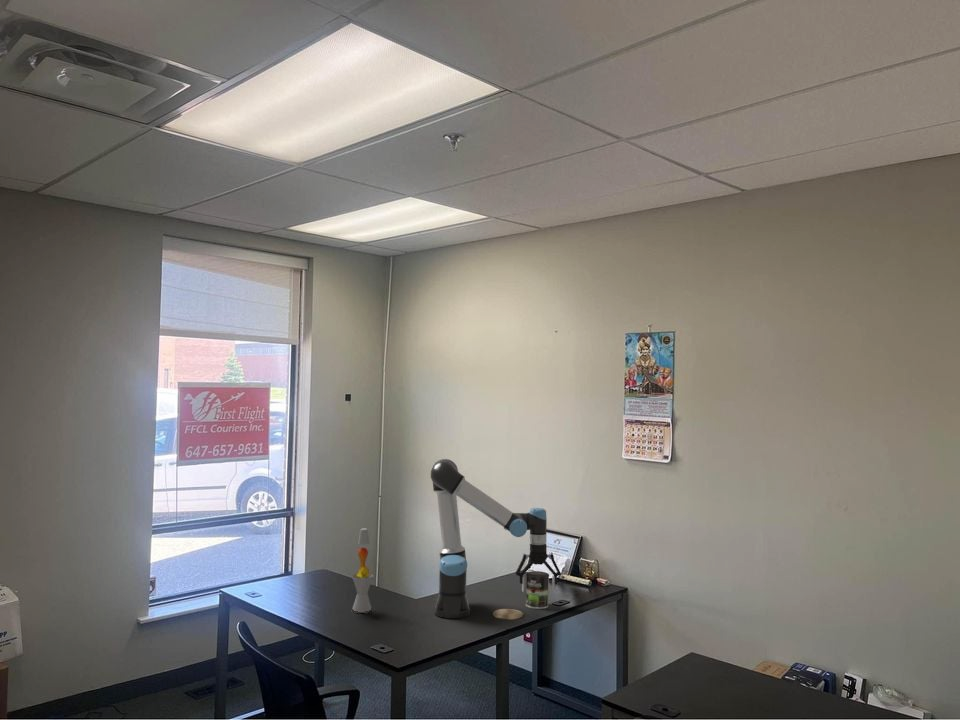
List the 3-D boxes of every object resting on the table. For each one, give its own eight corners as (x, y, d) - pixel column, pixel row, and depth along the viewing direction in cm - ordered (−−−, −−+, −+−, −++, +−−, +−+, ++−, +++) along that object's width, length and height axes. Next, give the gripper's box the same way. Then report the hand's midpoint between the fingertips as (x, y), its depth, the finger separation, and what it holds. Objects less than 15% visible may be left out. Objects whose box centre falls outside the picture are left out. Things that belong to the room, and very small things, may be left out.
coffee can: (543, 610, 307) (544, 577, 307) (522, 606, 311) (522, 574, 312) (552, 604, 316) (552, 572, 316) (531, 601, 320) (531, 570, 321)
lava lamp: (347, 610, 301) (349, 528, 303) (364, 606, 308) (366, 526, 309) (359, 615, 295) (361, 531, 297) (376, 611, 301) (378, 529, 303)
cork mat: (493, 619, 293) (493, 617, 293) (492, 610, 306) (492, 608, 306) (524, 619, 293) (524, 618, 293) (521, 610, 306) (521, 608, 306)
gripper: (511, 545, 311) (511, 593, 310) (566, 544, 311) (567, 593, 310) (510, 541, 319) (510, 588, 317) (564, 541, 319) (564, 588, 318)
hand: (538, 591), depth 314 cm, fingers open, 13 cm apart
